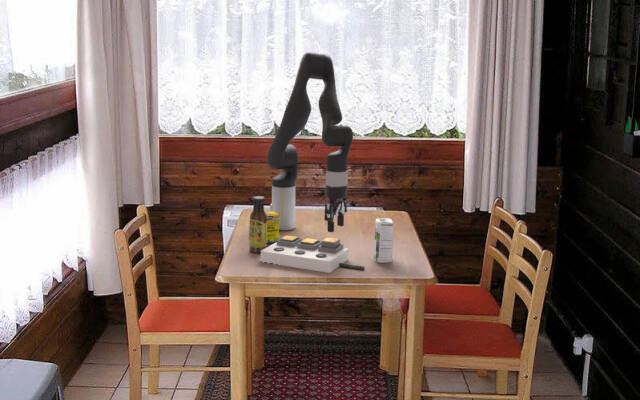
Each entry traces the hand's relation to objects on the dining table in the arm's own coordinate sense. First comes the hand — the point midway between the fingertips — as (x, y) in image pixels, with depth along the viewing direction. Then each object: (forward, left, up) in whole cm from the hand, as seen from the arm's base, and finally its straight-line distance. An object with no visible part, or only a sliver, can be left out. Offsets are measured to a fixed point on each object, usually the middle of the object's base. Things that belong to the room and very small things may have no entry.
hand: (335, 228), depth 277 cm
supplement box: (-30, +7, -11) cm, 33 cm away
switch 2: (-8, -4, -6) cm, 11 cm away
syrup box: (+16, +5, -11) cm, 20 cm away
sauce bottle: (-28, -5, -11) cm, 30 cm away
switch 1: (-16, -4, -6) cm, 18 cm away
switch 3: (0, -4, -5) cm, 6 cm away
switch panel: (-3, -8, -11) cm, 14 cm away
